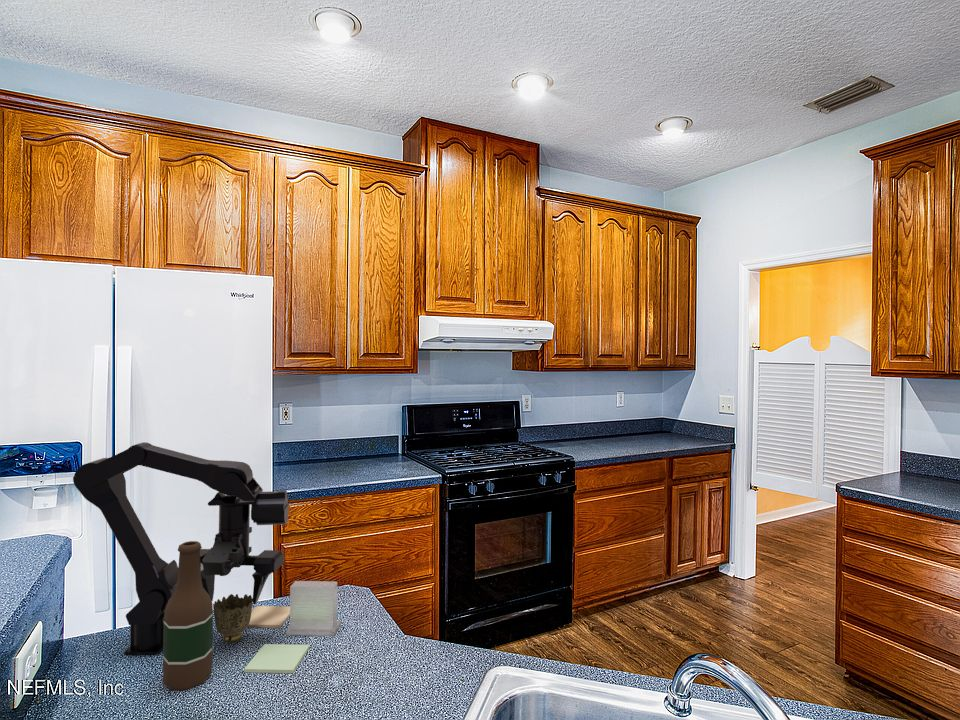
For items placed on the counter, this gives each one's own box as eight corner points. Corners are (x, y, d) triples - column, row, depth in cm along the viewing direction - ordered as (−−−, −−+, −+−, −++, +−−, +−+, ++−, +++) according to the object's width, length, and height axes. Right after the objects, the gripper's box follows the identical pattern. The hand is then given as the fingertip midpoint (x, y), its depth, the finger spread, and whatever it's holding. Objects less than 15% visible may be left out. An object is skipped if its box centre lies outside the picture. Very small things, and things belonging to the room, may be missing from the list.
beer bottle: (165, 672, 99) (167, 539, 100) (213, 663, 102) (215, 534, 103) (159, 696, 92) (161, 552, 93) (210, 685, 95) (212, 547, 96)
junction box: (286, 635, 114) (286, 587, 114) (294, 623, 119) (295, 578, 119) (334, 635, 113) (334, 588, 113) (340, 624, 118) (341, 578, 118)
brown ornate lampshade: (259, 632, 115) (260, 594, 115) (240, 650, 107) (241, 609, 107) (225, 630, 115) (226, 592, 115) (204, 648, 108) (205, 607, 108)
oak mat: (237, 627, 117) (237, 624, 117) (255, 608, 126) (256, 606, 126) (279, 628, 117) (279, 625, 117) (294, 609, 126) (295, 606, 126)
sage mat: (244, 672, 100) (244, 669, 100) (264, 647, 109) (264, 644, 109) (293, 673, 99) (293, 669, 99) (309, 647, 108) (309, 644, 108)
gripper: (165, 537, 104) (163, 620, 103) (263, 539, 103) (261, 622, 103) (196, 520, 115) (195, 595, 115) (285, 522, 114) (284, 597, 114)
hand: (232, 603), depth 111 cm, fingers open, 9 cm apart
